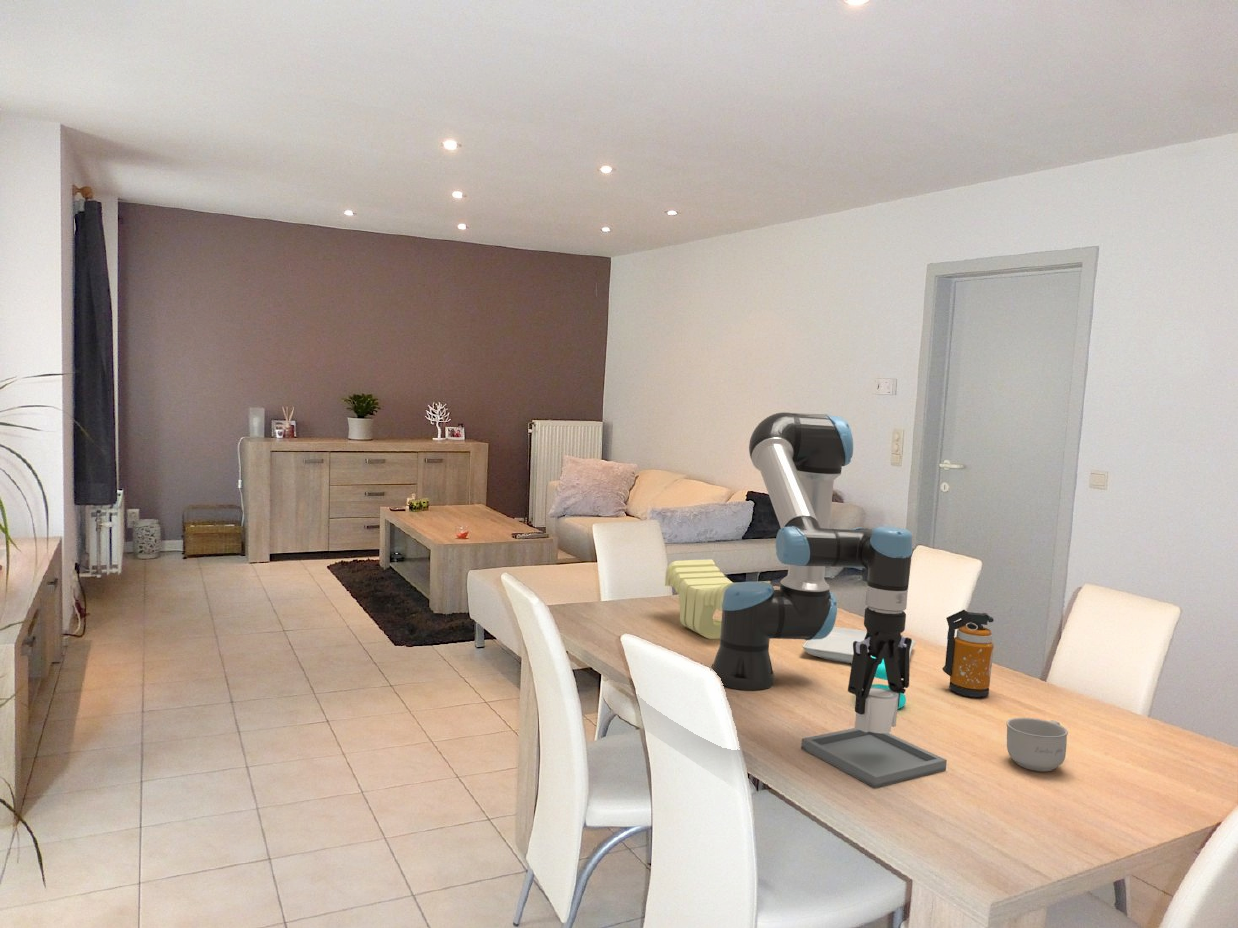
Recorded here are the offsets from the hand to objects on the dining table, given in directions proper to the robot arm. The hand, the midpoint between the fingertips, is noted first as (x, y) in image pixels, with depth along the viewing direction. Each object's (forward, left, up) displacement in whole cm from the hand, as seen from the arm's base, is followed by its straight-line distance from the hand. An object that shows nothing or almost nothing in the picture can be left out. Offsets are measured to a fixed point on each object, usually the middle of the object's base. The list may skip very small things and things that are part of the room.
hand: (875, 726), depth 173 cm
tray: (0, 0, -7) cm, 7 cm away
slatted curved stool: (-85, +26, -7) cm, 89 cm away
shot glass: (0, 0, 0) cm, 0 cm away
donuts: (-22, +27, -7) cm, 36 cm away
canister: (-20, +53, -7) cm, 57 cm away
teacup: (+15, +30, -7) cm, 34 cm away
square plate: (-53, +52, -7) cm, 75 cm away
